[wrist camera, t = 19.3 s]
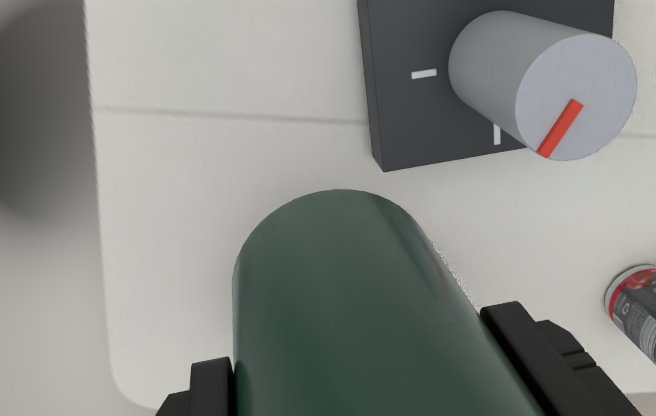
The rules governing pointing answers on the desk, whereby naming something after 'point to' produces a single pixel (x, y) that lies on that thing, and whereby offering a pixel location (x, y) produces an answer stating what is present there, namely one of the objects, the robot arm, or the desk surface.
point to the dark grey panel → (440, 75)
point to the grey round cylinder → (544, 82)
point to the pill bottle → (635, 307)
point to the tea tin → (360, 320)
